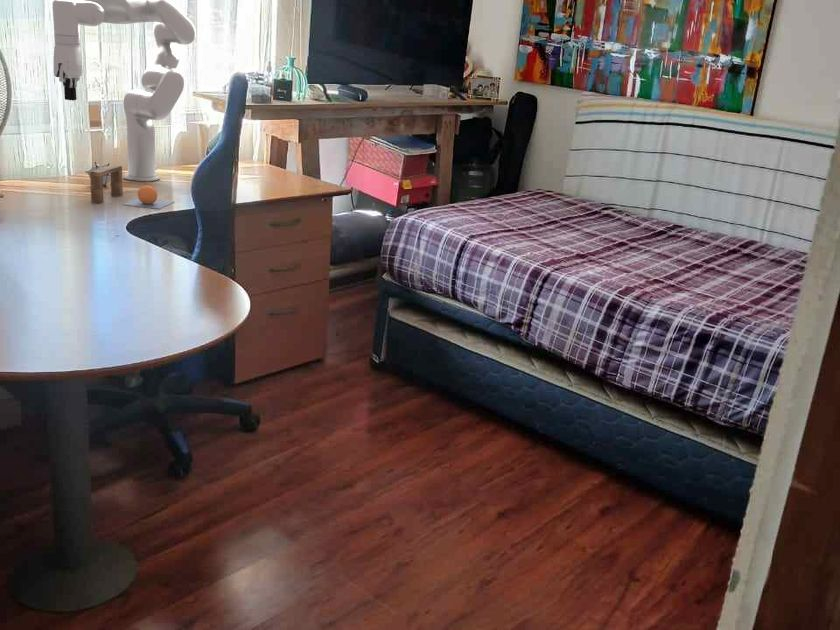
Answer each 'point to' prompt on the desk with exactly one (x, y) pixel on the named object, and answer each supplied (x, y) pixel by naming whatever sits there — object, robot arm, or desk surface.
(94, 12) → the robot arm
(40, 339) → the desk surface
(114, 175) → the bridge
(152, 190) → the ball
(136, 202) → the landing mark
